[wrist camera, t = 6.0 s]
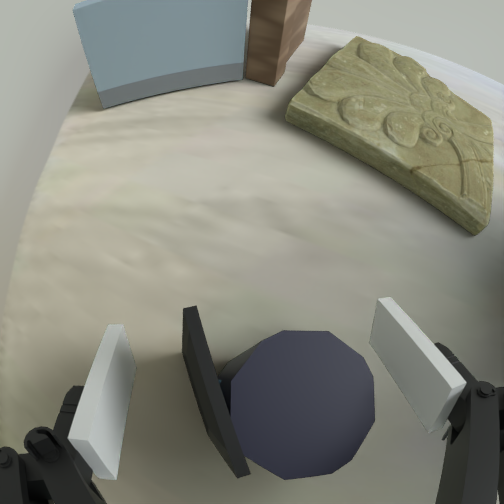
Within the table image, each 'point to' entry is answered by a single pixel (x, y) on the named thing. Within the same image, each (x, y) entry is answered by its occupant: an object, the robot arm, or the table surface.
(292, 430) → the speaker
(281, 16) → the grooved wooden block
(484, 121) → the decorative tile
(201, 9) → the light blue flat panel
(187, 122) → the table surface
